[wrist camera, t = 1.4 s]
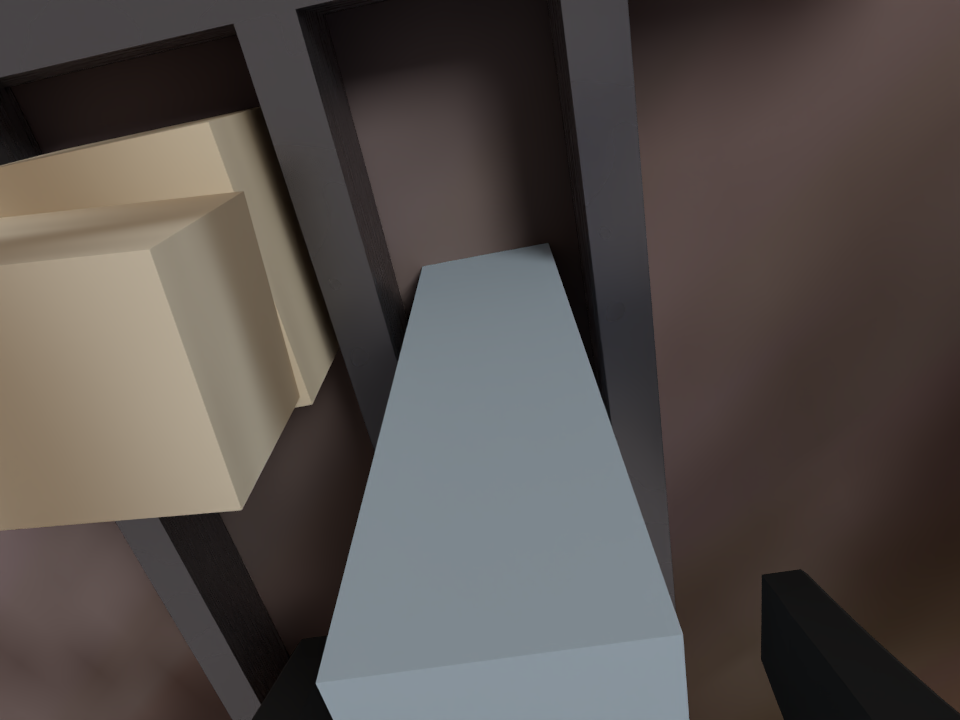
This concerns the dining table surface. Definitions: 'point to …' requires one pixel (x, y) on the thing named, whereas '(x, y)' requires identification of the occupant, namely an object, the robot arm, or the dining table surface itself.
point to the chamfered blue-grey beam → (500, 525)
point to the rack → (365, 254)
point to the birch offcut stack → (151, 324)
